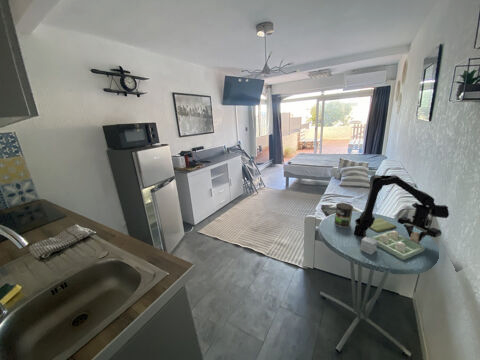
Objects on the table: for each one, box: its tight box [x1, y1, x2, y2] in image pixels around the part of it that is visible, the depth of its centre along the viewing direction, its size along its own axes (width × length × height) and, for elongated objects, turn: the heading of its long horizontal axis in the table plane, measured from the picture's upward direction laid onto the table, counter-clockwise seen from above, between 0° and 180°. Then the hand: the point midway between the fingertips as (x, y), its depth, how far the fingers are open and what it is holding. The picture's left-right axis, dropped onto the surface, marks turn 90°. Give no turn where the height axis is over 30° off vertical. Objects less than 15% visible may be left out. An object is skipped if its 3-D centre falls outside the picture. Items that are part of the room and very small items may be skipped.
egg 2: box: [389, 230, 400, 242], centre depth 118 cm, size 4×4×6 cm
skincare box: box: [359, 235, 378, 255], centre depth 111 cm, size 6×6×7 cm
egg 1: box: [379, 233, 389, 245], centre depth 115 cm, size 4×4×6 cm
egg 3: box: [395, 242, 406, 254], centre depth 108 cm, size 4×4×6 cm
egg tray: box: [371, 230, 426, 261], centre depth 114 cm, size 18×18×3 cm
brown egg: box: [409, 231, 420, 244], centre depth 116 cm, size 4×4×6 cm
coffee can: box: [334, 202, 354, 229], centre depth 139 cm, size 10×10×14 cm
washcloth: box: [368, 217, 397, 233], centre depth 135 cm, size 13×18×3 cm
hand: (414, 239), depth 116 cm, fingers closed on brown egg, 4 cm apart
